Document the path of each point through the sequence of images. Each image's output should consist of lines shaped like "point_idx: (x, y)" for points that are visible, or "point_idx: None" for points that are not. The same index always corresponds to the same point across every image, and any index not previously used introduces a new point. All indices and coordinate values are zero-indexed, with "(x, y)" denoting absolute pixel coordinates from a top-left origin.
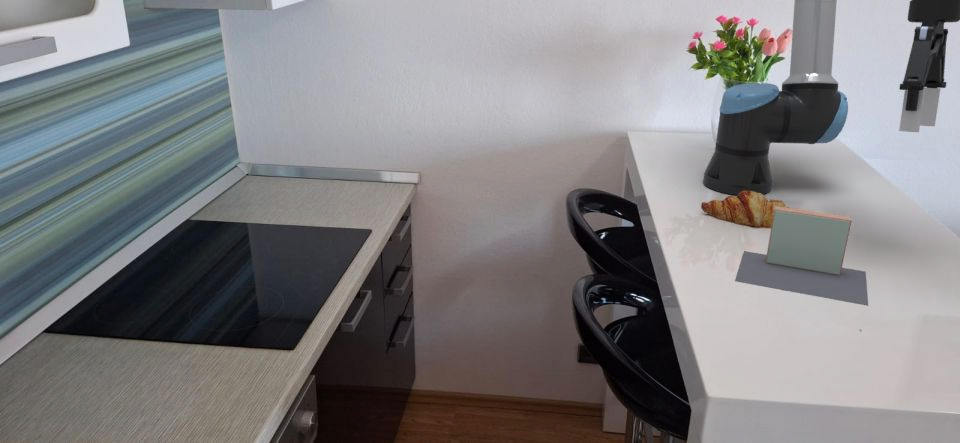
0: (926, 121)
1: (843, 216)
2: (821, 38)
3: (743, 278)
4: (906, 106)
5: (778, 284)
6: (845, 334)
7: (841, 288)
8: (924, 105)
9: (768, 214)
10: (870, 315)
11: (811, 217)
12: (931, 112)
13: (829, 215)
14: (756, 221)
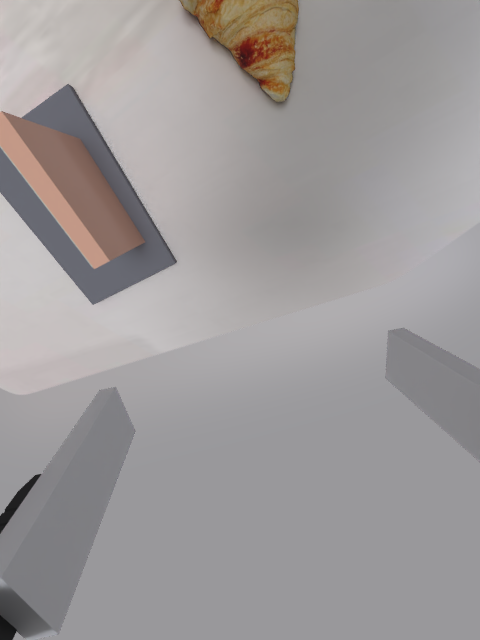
0: (397, 365)
1: (98, 250)
2: None
3: None
4: (14, 499)
5: (29, 207)
6: (29, 311)
7: (102, 267)
8: (453, 391)
9: (207, 10)
10: (88, 309)
11: (46, 206)
12: (423, 397)
13: (76, 230)
14: (181, 2)
